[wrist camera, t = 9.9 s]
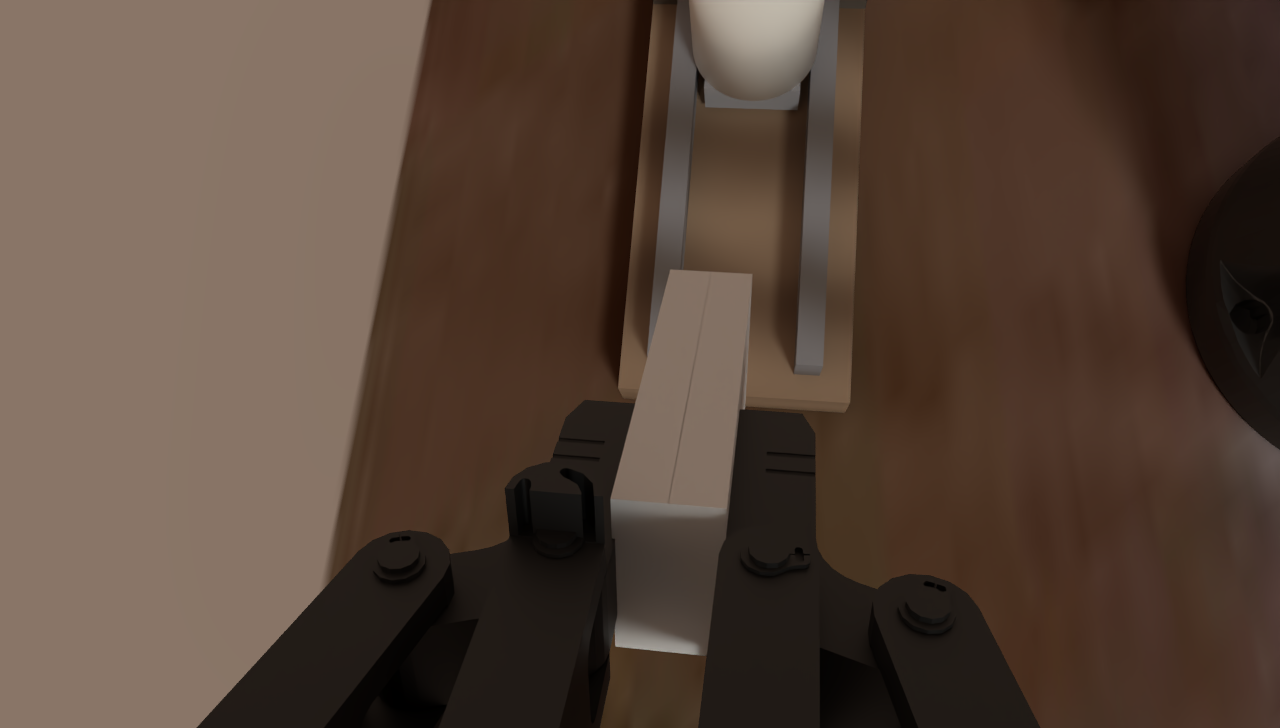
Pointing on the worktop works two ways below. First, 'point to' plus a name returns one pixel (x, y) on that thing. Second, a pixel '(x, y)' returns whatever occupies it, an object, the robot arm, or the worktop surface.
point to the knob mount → (754, 210)
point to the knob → (754, 50)
